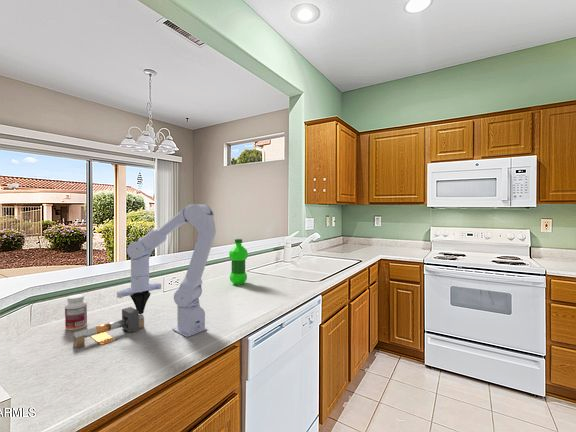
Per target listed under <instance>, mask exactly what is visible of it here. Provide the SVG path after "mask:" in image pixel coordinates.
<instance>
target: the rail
mask: <svg viewBox="0 0 576 432" xmlns="http://www.w3.org/2000/svg"><path fill="white" fill-rule="evenodd" d="M144 317H145V316H144V313H142V314H139V330H140V329H144V328H145V318H144ZM127 325H128V318H126V319H122V318H121V319H118V320H115V321H112V322H111V321H110V322H107V323H104V324H101V325H97V326H94V327H91V328H87V329H83V330H80V331H76V332H73V335H72V336H73V339H72V340H73V342H72V343H73V344H72V345H73V347H74V348H75V349H76V350H78V349H80V348H83V347H85V339H86V338H92V340H94V341H96V342H97V343H98V344H99V345H100V346H103V345H105V344H108V343H111V342H114V341H116V339H115V338H114V337H112V336H111V335H109V334H108V333H107V332H110V331H113V330H116V329H120V328H122V327H124V326H127Z"/></svg>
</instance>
